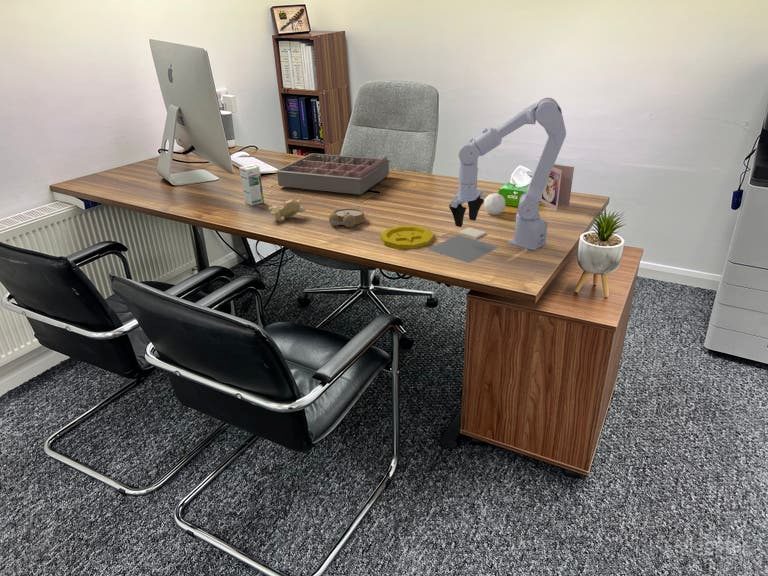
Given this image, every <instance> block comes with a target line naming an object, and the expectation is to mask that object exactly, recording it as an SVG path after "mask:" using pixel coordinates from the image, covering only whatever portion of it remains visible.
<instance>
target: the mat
mask: <svg viewBox="0 0 768 576" xmlns="http://www.w3.org/2000/svg"><path fill="white" fill-rule="evenodd" d="M498 248H499V246H497V245H493V244H490V243H487V242H484V241H479V240H476V239H474V238H471V237H467V236H464V235H460V234H456V235H455V236H452V237H450V238H448V239H446V240H445V241H442V242H440V243H438V244H436V245H434V246H432V247H429V248H428V249H427V251H432V252H434V253H436V254H437V253H438V254H440V255H444V256H445V257H449V258H453V259H456V260H459V261H462V262H465V263H467V264H471V263H473V262H474V261H476V260H478V259H480V258H482V257H483V256H486V255H487V254H489V253H490V252H492V251H494V250H496V249H498Z"/></svg>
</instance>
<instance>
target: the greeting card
mask: <svg viewBox="0 0 768 576" xmlns="http://www.w3.org/2000/svg"><path fill="white" fill-rule="evenodd" d="M574 169H575V166H571V165H570V166H569V165H562V164H556V163H554V166H553V168H552V171H551V173H550V175H549V178H548V180H547V183H546V185H545V188H544V190H543V193H542V196H541V199H540V201H541V202H540V203H542V202H543V203H542V204H544V203H545V204H544V205H546V204H547V205H546V206H548V205H549V206H551V207H553V208H554V209H553V208H552V209H553V210H555V209H556V210H555V211H557V210H558V206H562V205H565V206H564V207H568V206H569V207H570V201H571V193H572V188H573V187H572V186H573V185H572V184H573V179H574ZM558 204H560V205H558ZM549 206H548V207H549ZM551 207H550V208H551Z"/></svg>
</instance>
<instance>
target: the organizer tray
mask: <svg viewBox="0 0 768 576" xmlns="http://www.w3.org/2000/svg"><path fill="white" fill-rule="evenodd" d="M391 161H392V160H391V159H388V156H387V155H385V156H383V157H382V158H372V157H359V156H350V155H349V156H347V155H336V154H325V153H324V154H323V153H310V154H308V155H306V156H304V157H301V158H299V159H297V160H295V161H293V162H291V163H288V164H287V165H285V166H283V167H280V168H278V169H277V170H275V171H274V172H276V173H277V174H276V175H277V182H278V187H283V188H284V187H286V188H296V189H305V190H312V191H325V192H333V193H340V194H341V193H342V194H353V195H359V196H360V195H362V194H364V193H365V192H367V191H368V190H370V189H371V188H373V187H374V186H375V185H377V184H378V183H380V182H381V181H382V180H384V179H386V178H387V177H388V176H389V175H390V162H391Z"/></svg>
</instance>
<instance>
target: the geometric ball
mask: <svg viewBox="0 0 768 576" xmlns="http://www.w3.org/2000/svg"><path fill="white" fill-rule="evenodd" d="M505 208H506V199H505V198H504V196H503V194H499V193H497V192H493V193H490V194H489V195H487V196H486V197H485V198H484V202H483V209H484V210H485V212H486V213H487V214H489V215H491V216H496V215H500V214H502V213H503V212H504V210H505Z"/></svg>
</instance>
